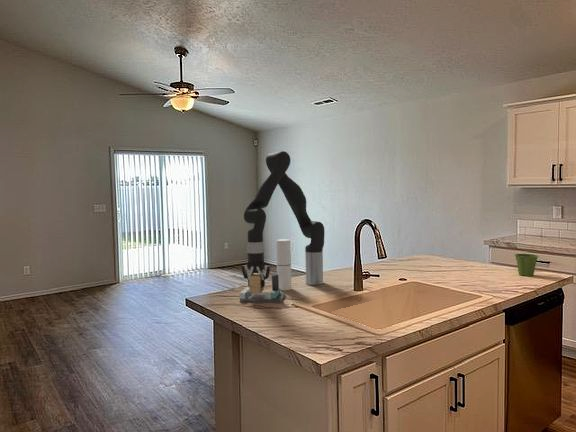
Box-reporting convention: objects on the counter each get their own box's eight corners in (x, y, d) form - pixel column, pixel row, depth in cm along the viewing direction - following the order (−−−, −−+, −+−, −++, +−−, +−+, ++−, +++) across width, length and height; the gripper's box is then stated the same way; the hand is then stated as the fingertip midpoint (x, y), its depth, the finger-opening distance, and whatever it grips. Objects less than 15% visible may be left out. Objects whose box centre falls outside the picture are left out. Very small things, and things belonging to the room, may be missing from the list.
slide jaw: (274, 292, 206) (274, 272, 206) (281, 292, 206) (280, 272, 205) (270, 298, 195) (269, 277, 195) (276, 298, 195) (276, 277, 194)
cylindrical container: (279, 290, 216) (278, 241, 214) (275, 287, 223) (274, 239, 221) (293, 289, 218) (292, 240, 216) (289, 286, 225) (288, 238, 223)
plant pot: (543, 276, 238) (543, 255, 237) (527, 278, 233) (528, 257, 232) (524, 272, 249) (524, 252, 248) (509, 274, 244) (509, 254, 243)
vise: (246, 295, 209) (246, 286, 209) (285, 295, 206) (285, 287, 206) (239, 301, 197) (239, 293, 197) (280, 302, 194) (280, 294, 194)
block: (253, 289, 206) (253, 272, 205) (263, 289, 205) (263, 273, 205) (249, 293, 199) (248, 276, 198) (260, 293, 198) (259, 276, 197)
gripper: (272, 250, 203) (273, 286, 204) (242, 250, 205) (243, 285, 207) (269, 252, 196) (269, 289, 197) (238, 252, 198) (239, 289, 199)
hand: (256, 287), depth 202 cm, fingers closed on block, 5 cm apart
